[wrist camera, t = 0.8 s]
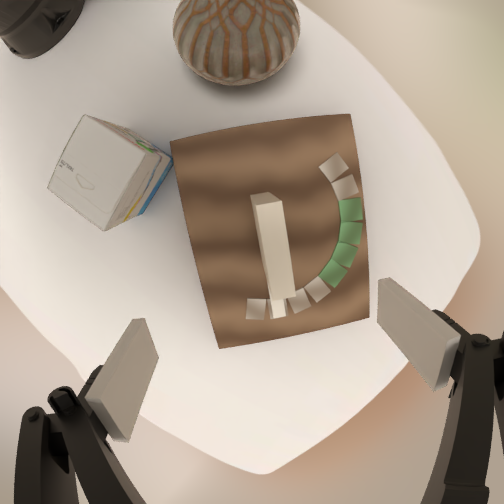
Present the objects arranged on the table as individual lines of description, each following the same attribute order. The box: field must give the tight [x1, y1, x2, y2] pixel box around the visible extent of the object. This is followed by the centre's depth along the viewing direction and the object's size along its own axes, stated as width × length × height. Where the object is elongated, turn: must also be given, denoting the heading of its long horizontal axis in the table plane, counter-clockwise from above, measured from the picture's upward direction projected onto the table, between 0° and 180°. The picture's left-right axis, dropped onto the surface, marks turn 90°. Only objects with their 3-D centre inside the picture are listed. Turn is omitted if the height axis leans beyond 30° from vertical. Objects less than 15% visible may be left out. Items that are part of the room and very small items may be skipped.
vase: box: [173, 0, 300, 86], centre depth 21 cm, size 13×13×18 cm
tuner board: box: [170, 114, 369, 349], centre depth 36 cm, size 28×22×2 cm
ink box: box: [48, 115, 173, 231], centre depth 28 cm, size 9×8×12 cm
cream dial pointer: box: [250, 192, 296, 319], centre depth 29 cm, size 16×2×12 cm, turn 10°
